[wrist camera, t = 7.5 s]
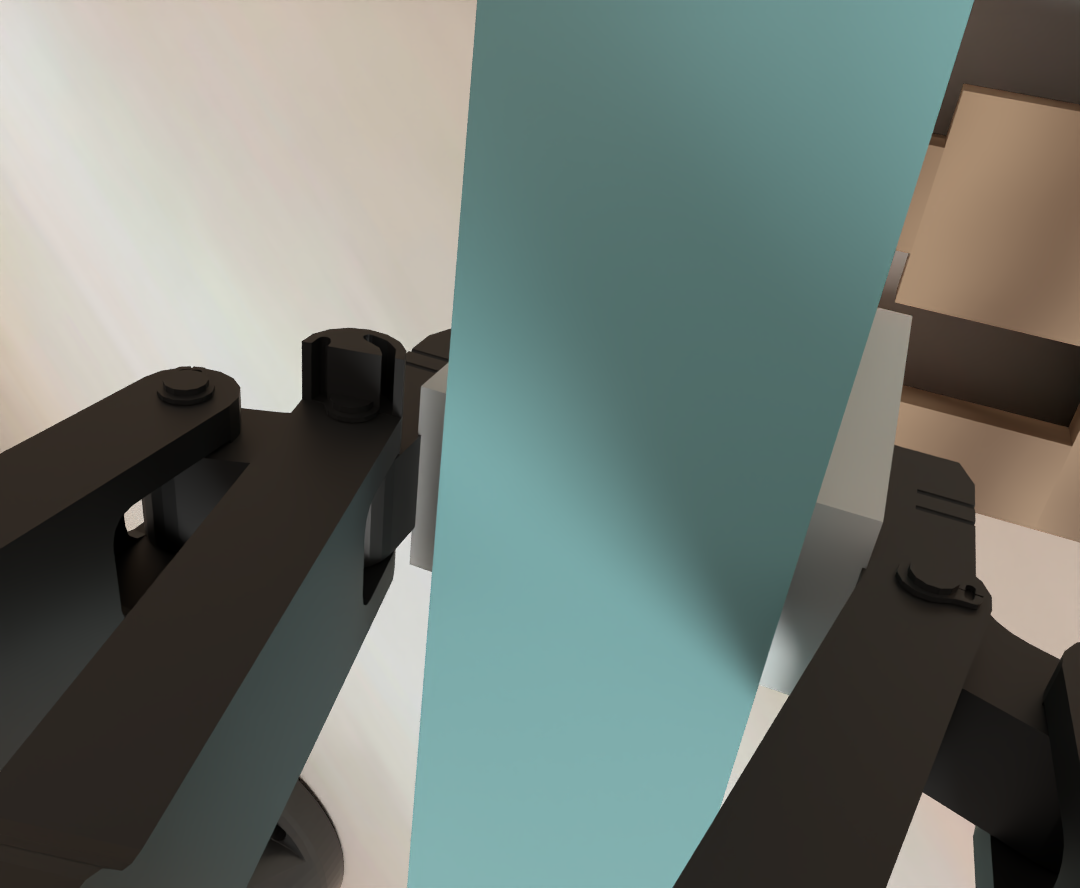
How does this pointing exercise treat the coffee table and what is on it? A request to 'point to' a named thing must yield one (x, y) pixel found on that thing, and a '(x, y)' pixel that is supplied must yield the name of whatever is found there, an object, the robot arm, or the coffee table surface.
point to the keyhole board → (1000, 291)
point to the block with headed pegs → (646, 403)
